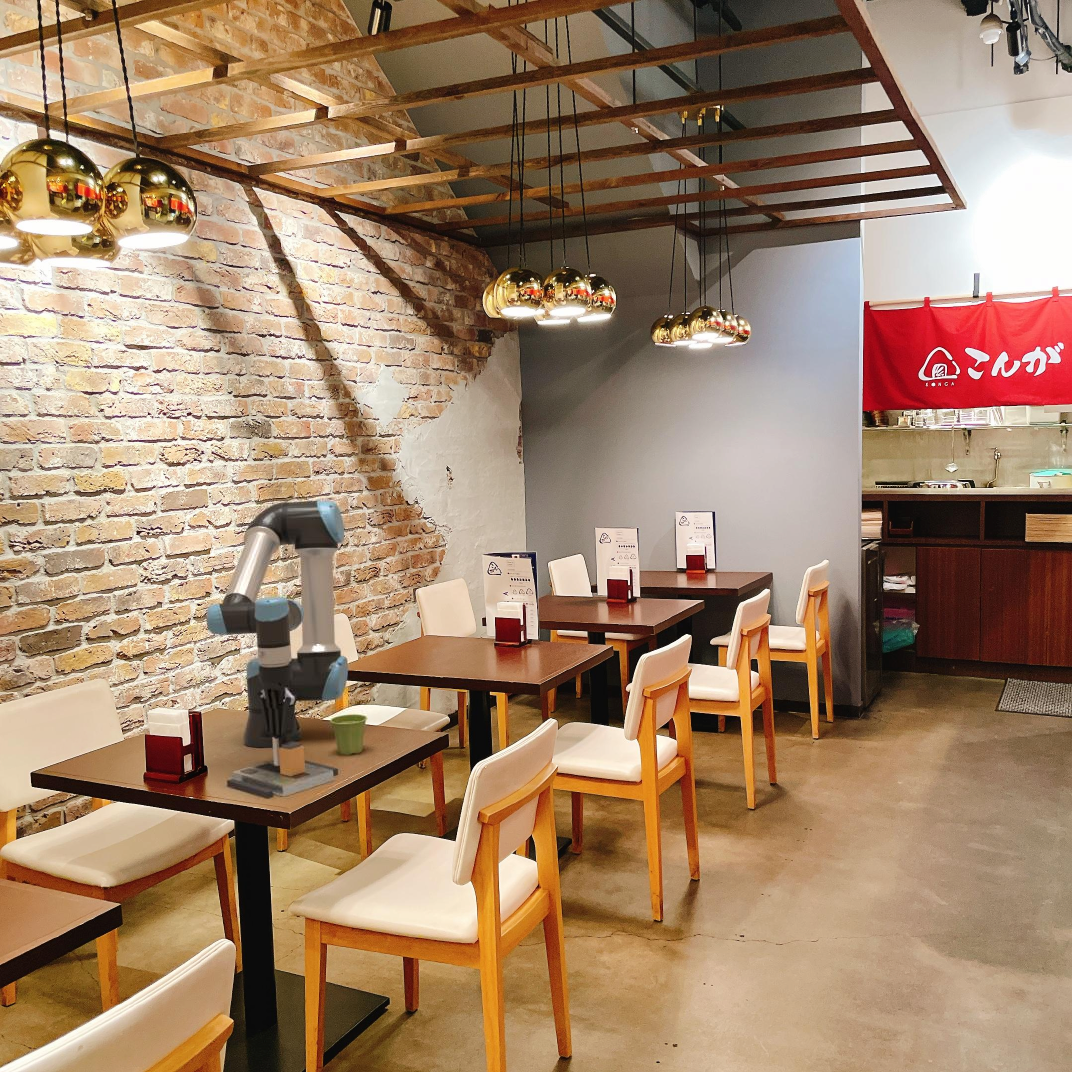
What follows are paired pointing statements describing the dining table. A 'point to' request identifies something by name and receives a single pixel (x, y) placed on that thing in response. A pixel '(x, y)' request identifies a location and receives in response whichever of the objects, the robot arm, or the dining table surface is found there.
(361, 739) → the plant pot
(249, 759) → the dining table surface
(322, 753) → the dining table surface
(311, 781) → the panel
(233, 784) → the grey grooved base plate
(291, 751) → the tan rectangular block
